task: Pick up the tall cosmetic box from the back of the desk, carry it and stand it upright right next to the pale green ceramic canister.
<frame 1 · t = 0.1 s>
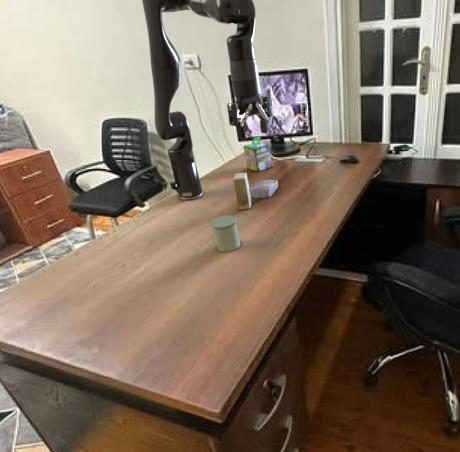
hand: (254, 136, 105), 29 cm above the table, tool pointing down, fingers open, 8 cm apart
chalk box: (259, 168, 171), on the table
stone block: (263, 192, 142), on the table
cosmetic box: (245, 206, 131), on the table
canister: (228, 245, 106), on the table
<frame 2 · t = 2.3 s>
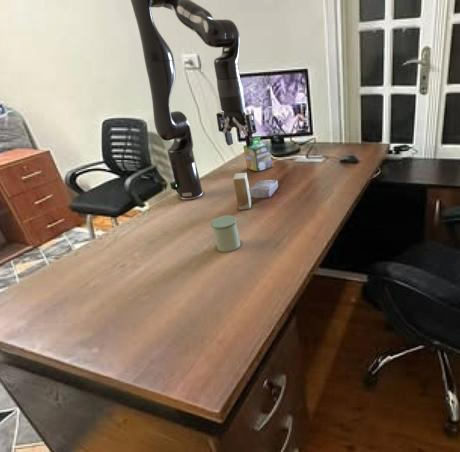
hand: (239, 145, 116), 24 cm above the table, tool pointing down, fingers open, 8 cm apart
nothing on the table moved.
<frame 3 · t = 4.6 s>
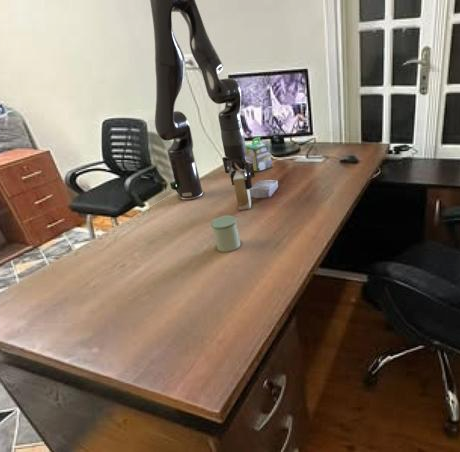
hand: (241, 186, 128), 8 cm above the table, tool pointing down, fingers closed on cosmetic box, 7 cm apart
cosmetic box: (245, 206, 131), on the table, touching gripper
everything else where it was.
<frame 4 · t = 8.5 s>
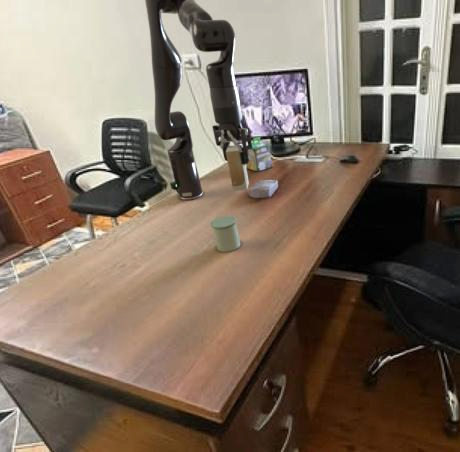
hand: (236, 161, 104), 23 cm above the table, tool pointing down, fingers closed on cosmetic box, 7 cm apart
cosmetic box: (241, 187, 108), point 15 cm above the table, touching gripper
everything else where it was.
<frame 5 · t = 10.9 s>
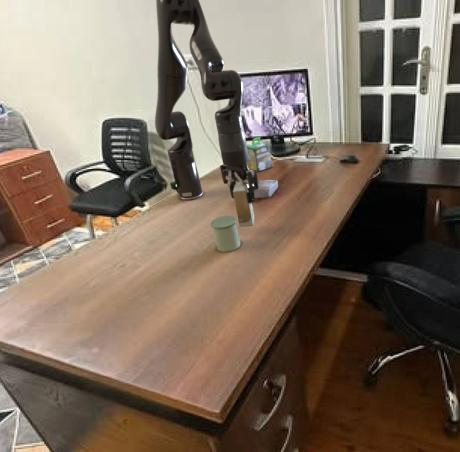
hand: (243, 199, 108), 12 cm above the table, tool pointing down, fingers closed on cosmetic box, 7 cm apart
cosmetic box: (247, 223, 111), point 3 cm above the table, touching gripper
everything else where it was.
when the fingers open (8 cm above the table, at t = 12.5 s): cosmetic box stays where it is, on the table.
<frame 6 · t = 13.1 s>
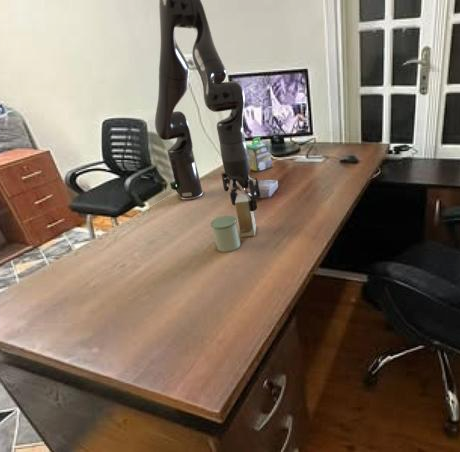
hand: (244, 207, 109), 9 cm above the table, tool pointing down, fingers open, 8 cm apart
cosmetic box: (249, 232, 113), on the table
everything else where it was.
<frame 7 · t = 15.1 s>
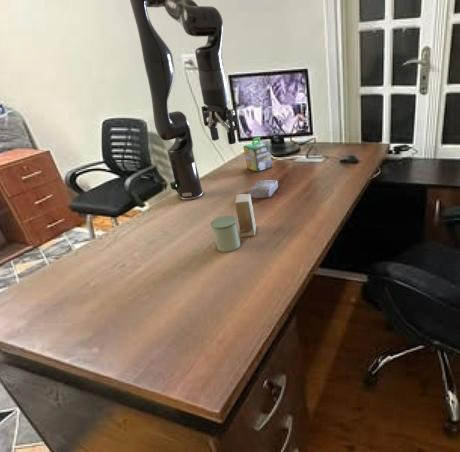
hand: (223, 141, 110), 27 cm above the table, tool pointing down, fingers open, 8 cm apart
nothing on the table moved.
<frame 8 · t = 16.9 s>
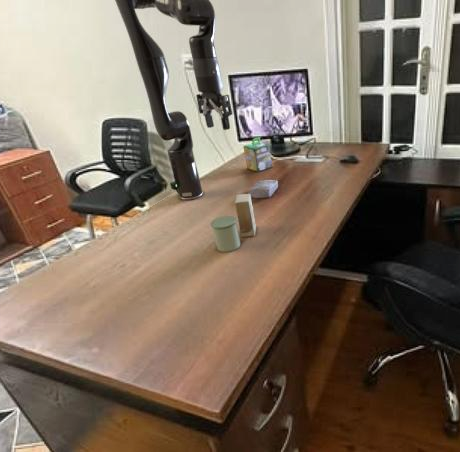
hand: (218, 128, 114), 30 cm above the table, tool pointing down, fingers open, 8 cm apart
nothing on the table moved.
at the end: cosmetic box 9.1 cm from the canister (horizontally); cosmetic box tilted 0°; the gripper is holding nothing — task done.
